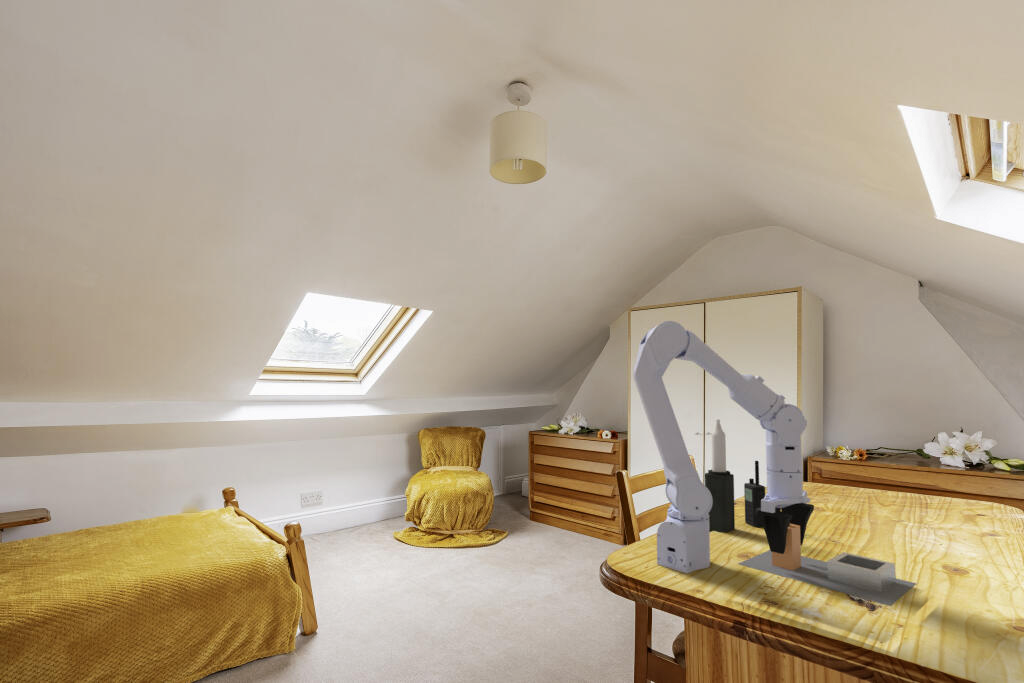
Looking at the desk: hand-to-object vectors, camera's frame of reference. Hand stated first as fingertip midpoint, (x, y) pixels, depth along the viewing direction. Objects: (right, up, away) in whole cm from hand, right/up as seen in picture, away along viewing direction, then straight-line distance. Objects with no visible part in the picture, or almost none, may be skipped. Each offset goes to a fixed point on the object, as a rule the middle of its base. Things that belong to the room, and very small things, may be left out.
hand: (786, 548), depth 94 cm
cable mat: (+4, -4, -4) cm, 7 cm away
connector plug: (0, -3, 0) cm, 3 cm away
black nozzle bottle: (-2, -6, +24) cm, 25 cm away
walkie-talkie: (+9, -7, +31) cm, 33 cm away
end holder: (+9, -3, -7) cm, 12 cm away
